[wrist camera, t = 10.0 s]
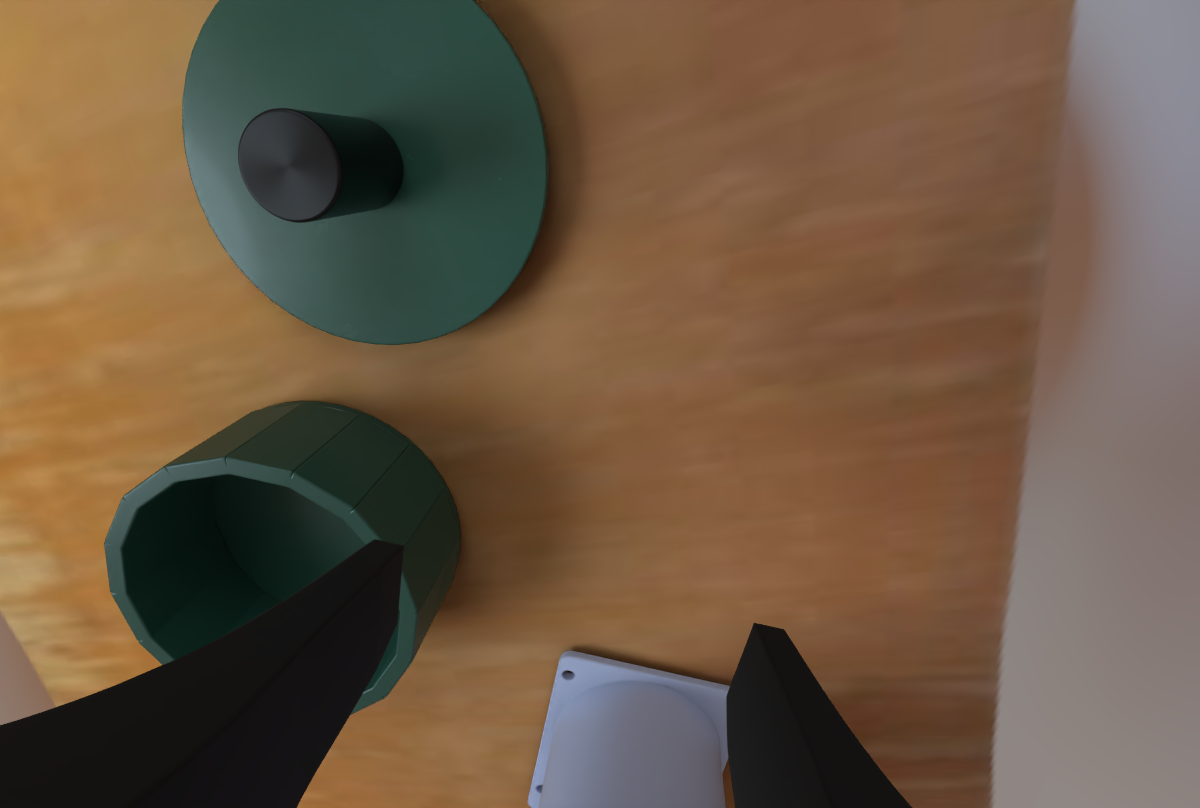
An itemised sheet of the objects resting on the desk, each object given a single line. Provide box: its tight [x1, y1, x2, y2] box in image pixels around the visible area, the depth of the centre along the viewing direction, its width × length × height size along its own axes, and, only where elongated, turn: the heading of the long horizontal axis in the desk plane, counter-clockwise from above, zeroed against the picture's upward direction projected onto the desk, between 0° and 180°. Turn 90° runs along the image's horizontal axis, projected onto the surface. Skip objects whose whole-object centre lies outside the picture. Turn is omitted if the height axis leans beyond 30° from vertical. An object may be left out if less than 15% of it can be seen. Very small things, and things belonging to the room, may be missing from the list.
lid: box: [183, 0, 549, 345], centre depth 17 cm, size 11×11×5 cm
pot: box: [104, 401, 461, 715], centre depth 23 cm, size 10×10×5 cm
